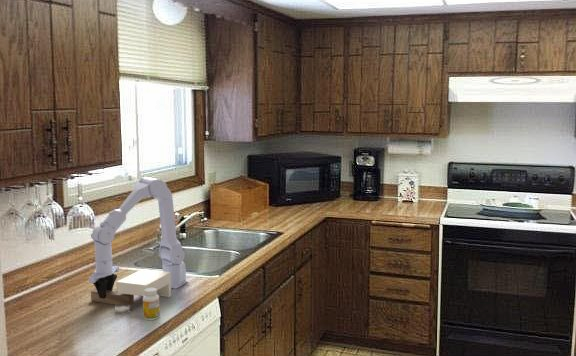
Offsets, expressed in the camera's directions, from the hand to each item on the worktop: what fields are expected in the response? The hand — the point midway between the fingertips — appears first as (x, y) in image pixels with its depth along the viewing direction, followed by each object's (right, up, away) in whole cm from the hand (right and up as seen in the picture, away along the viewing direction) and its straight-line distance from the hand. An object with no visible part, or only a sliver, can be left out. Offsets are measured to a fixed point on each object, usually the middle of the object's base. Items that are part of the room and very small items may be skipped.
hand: (105, 296), depth 208 cm
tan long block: (+3, -2, -1) cm, 3 cm away
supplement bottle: (+20, -4, -15) cm, 25 cm away
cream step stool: (+14, -2, +1) cm, 14 cm away
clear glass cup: (+9, -3, -9) cm, 13 cm away
